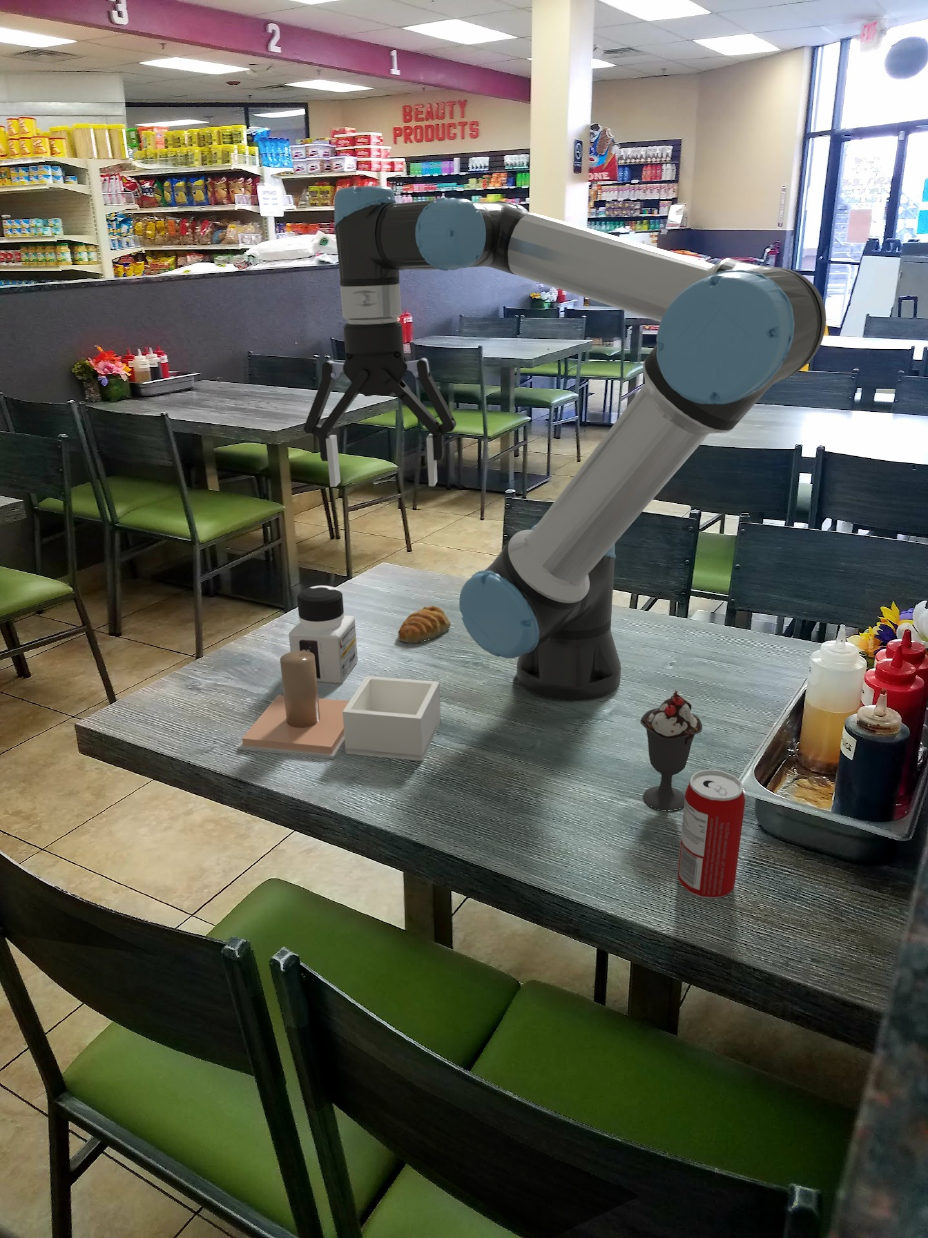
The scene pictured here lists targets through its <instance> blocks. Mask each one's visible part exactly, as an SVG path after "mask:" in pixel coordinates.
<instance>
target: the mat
mask: <svg viewBox="0 0 928 1238" xmlns="http://www.w3.org/2000/svg"><path fill="white" fill-rule="evenodd" d="M344 745H345V737H344V736H343V737H342V739H341V741H340V742H339V744H338V745H337V747H336V748H335V750H334V752H333V753H332V754H329V753H318V752H308V751H298V750H288V749H277V748H267V747H257V746H247V745H243V742H242V740H241V742H240V743H238V745H237V746H236V748H237V750H240V751H251V752H261V753H273V754H280V755H292V756H302V757H303V756H304V757H311V758H322V759H331V760H334V759H335V758H336V757H337V755H338V753H339V752H340V751H341V749H343V748H342V747H343V746H344Z"/></svg>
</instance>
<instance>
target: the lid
mask: <svg viewBox="0 0 928 1238" xmlns="http://www.w3.org/2000/svg"><path fill="white" fill-rule="evenodd" d="M279 662H280V671H281V681H282V690H283V694H277V696H276V697H275V698H274V699H273V700H272V701H271V703H270V704H269V706H268V707H267V708H266V709H265V710H264V712H263V713H262V714H261V715H260V716H259V717H258V718H257V720H256V721H255V722H254V723H253V724H252V726H251V727H250V728H249V729H248V730H247V732H246V733H245V734H244V735H243V736H242V738H241V741H242V742H243V745H247V746H257V747H267V748H277V749H288V750H298V751H308V752H318V753H329V754H332V753H333V752H334V750H335V748H336V747H337V745H338V744H339V742H340V741H341V739H342V737H343V736H344V724H343V710H344V709H345V707H346V706H347V704H348V703H349V701H350V700H341V699H330V698H319V691H318V689H319V688H318V682H317V676H316V665H315V656H314V654H313V653H311V652H308V651H293V652H287V653H284V654H283V655H282V656H281V657H280V658H279Z"/></svg>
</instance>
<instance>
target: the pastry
mask: <svg viewBox="0 0 928 1238" xmlns="http://www.w3.org/2000/svg"><path fill="white" fill-rule="evenodd" d="M451 625H452V623H451V621H450V620H449V618H448V616H447V615H446V613H445V611H444V609H442V608H440V607H439V606H435V605H430V606H423V608H421V609H420V610H418V611H415V612H413V613H412V612H411V614H409V615H408V616H407V618H405V620H404V621H403V622H402V623H401V625H400V628H399V630H398V632H397V633H398V638H399V639H398V640H399V641H401V642H406V643H410V644H420V643H422V642H421V641H423V642H425V641H424V640H427V641H429V640H428V639H431V640H434V639H435V638H437V637H438V636H441V635H443V634H444V633H446V632H448V630H449V629H450V628H451ZM442 633H443V634H442ZM440 634H441V635H440ZM436 636H437V637H436ZM433 638H434V639H433ZM419 642H420V643H419Z"/></svg>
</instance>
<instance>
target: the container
mask: <svg viewBox="0 0 928 1238" xmlns="http://www.w3.org/2000/svg"><path fill="white" fill-rule="evenodd" d="M343 595H344V594H343V592H342V591H341V590H340V589H339V588H337V587H334V586H330V585H315V586H310V587H307V588H305V589H303V590H302V591H300V592H299V593H298V595H297V596H296V599H297V600H296V602H297V611H298V613H297V614H298V620H299V621H298V622H297V624H295V626H294V627H293V628H292V629H291V630H290V631H289V633H288V640H289V641H288V643H289V648H290V649H289V651H290V652H293V651H308V652H311V653H313V654H314V656H315V665H316V676H317V683H330V684H343V683H344V681H345V680H346V678H347V677H348V676H349V674H350V673H351V672H352V670H353V669H354V667H355V666H356V664H357V663H358V658H359V657H358V645H357V631H356V618H355V616H353V615H345V613H344V612H345V611H344V597H343Z"/></svg>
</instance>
